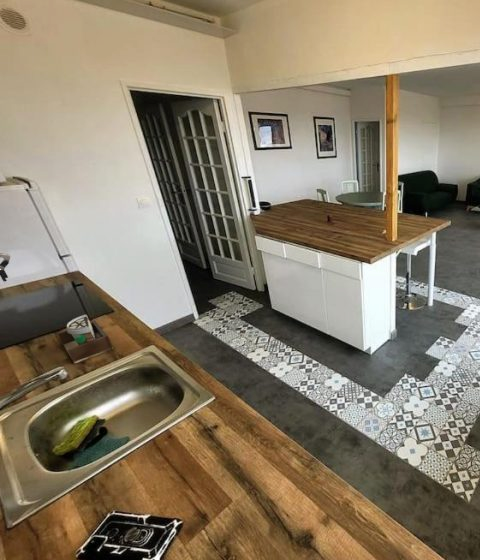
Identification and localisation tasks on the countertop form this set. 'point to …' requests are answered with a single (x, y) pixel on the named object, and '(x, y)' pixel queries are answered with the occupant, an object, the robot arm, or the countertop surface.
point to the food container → (81, 330)
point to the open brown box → (86, 344)
